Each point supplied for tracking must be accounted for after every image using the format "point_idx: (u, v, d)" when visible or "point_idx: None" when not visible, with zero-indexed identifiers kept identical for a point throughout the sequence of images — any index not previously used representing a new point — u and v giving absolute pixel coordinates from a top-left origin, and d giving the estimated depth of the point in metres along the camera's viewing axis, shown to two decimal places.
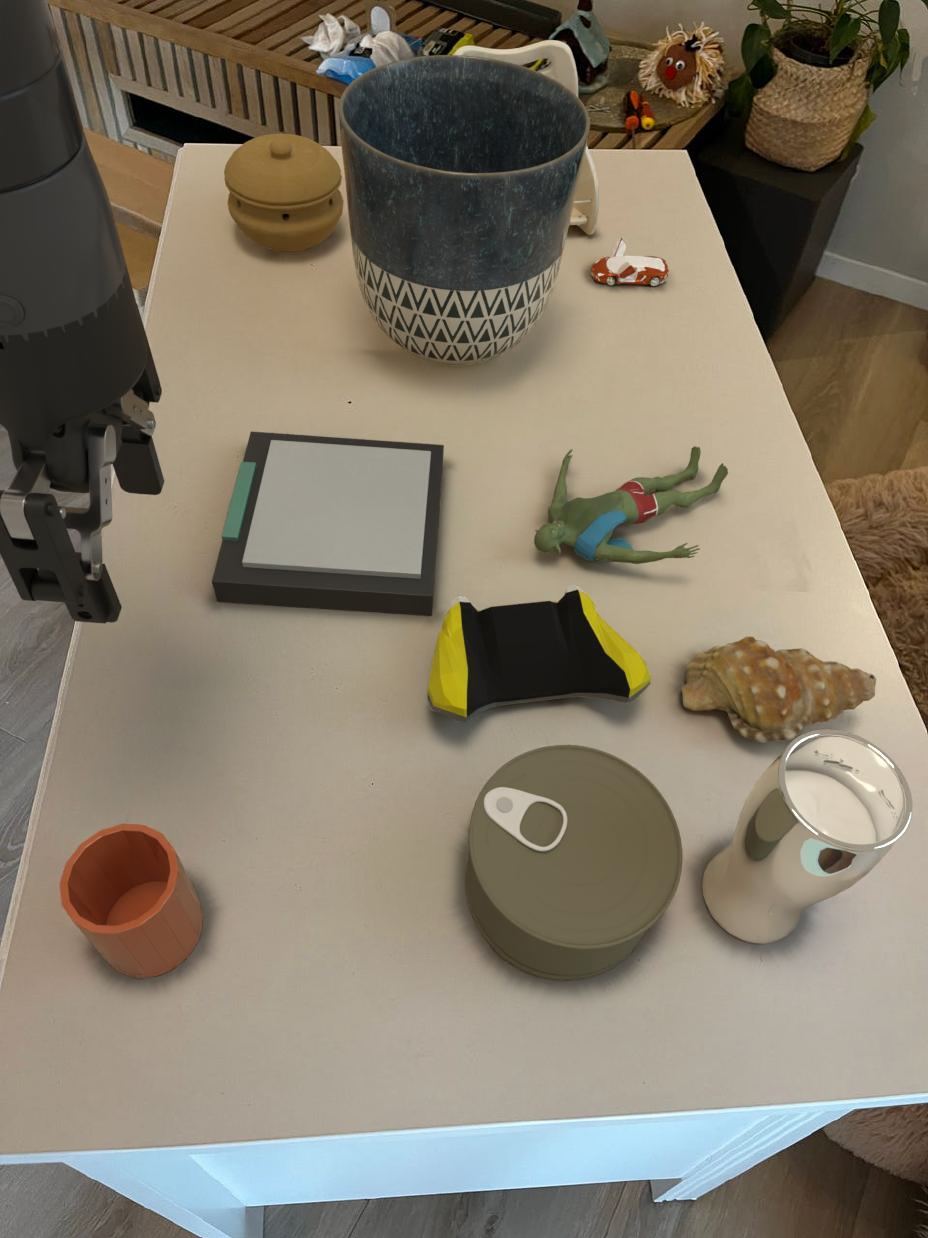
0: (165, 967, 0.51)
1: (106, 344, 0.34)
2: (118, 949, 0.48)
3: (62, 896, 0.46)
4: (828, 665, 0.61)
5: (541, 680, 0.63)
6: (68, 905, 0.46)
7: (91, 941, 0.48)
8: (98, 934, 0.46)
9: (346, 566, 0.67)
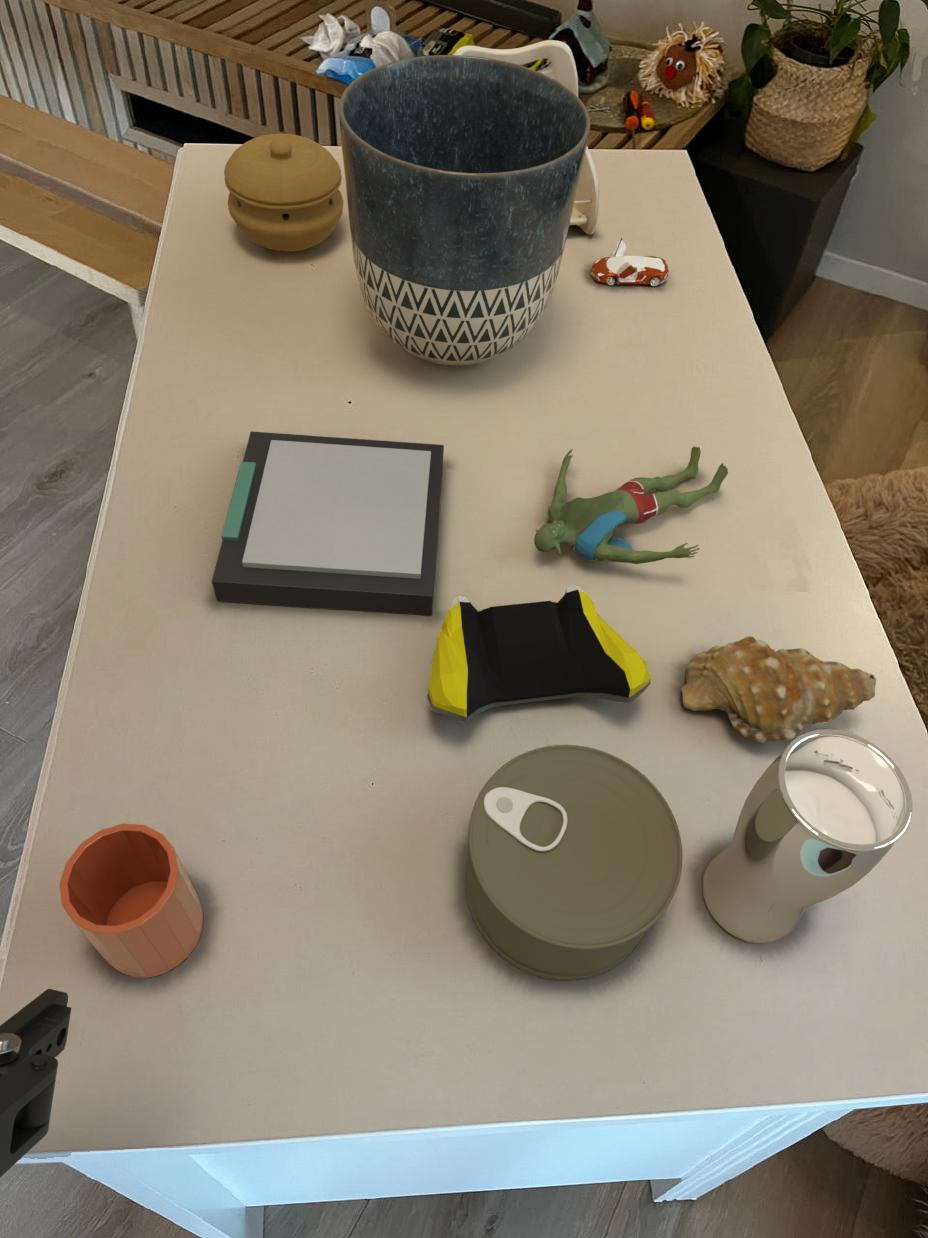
0: (165, 967, 0.51)
1: None
2: (118, 949, 0.48)
3: (62, 896, 0.46)
4: (828, 665, 0.61)
5: (541, 680, 0.63)
6: (68, 905, 0.46)
7: (91, 941, 0.48)
8: (98, 934, 0.46)
9: (346, 566, 0.67)
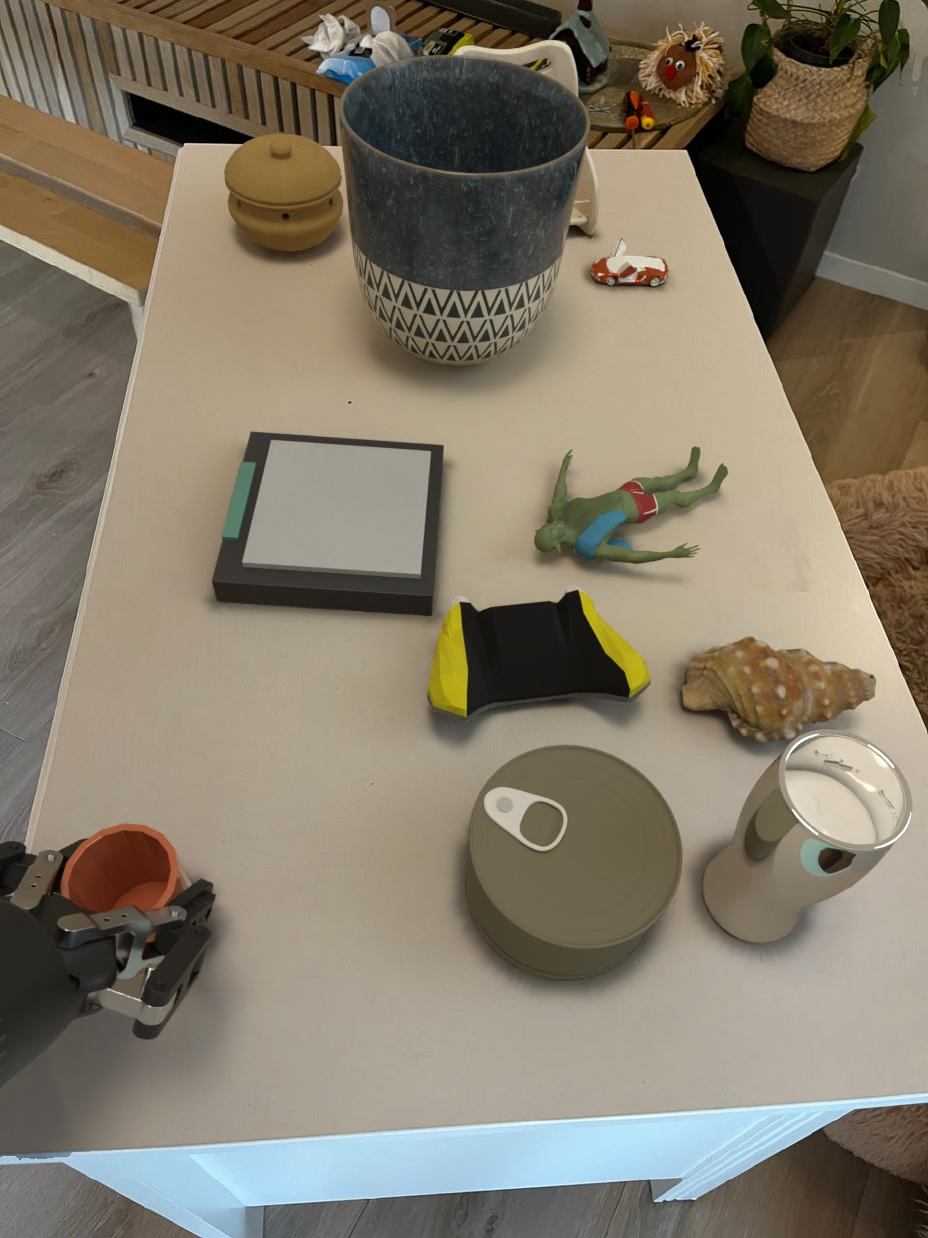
0: None
1: None
2: None
3: None
4: (828, 665, 0.61)
5: (541, 680, 0.63)
6: None
7: None
8: None
9: (346, 566, 0.67)
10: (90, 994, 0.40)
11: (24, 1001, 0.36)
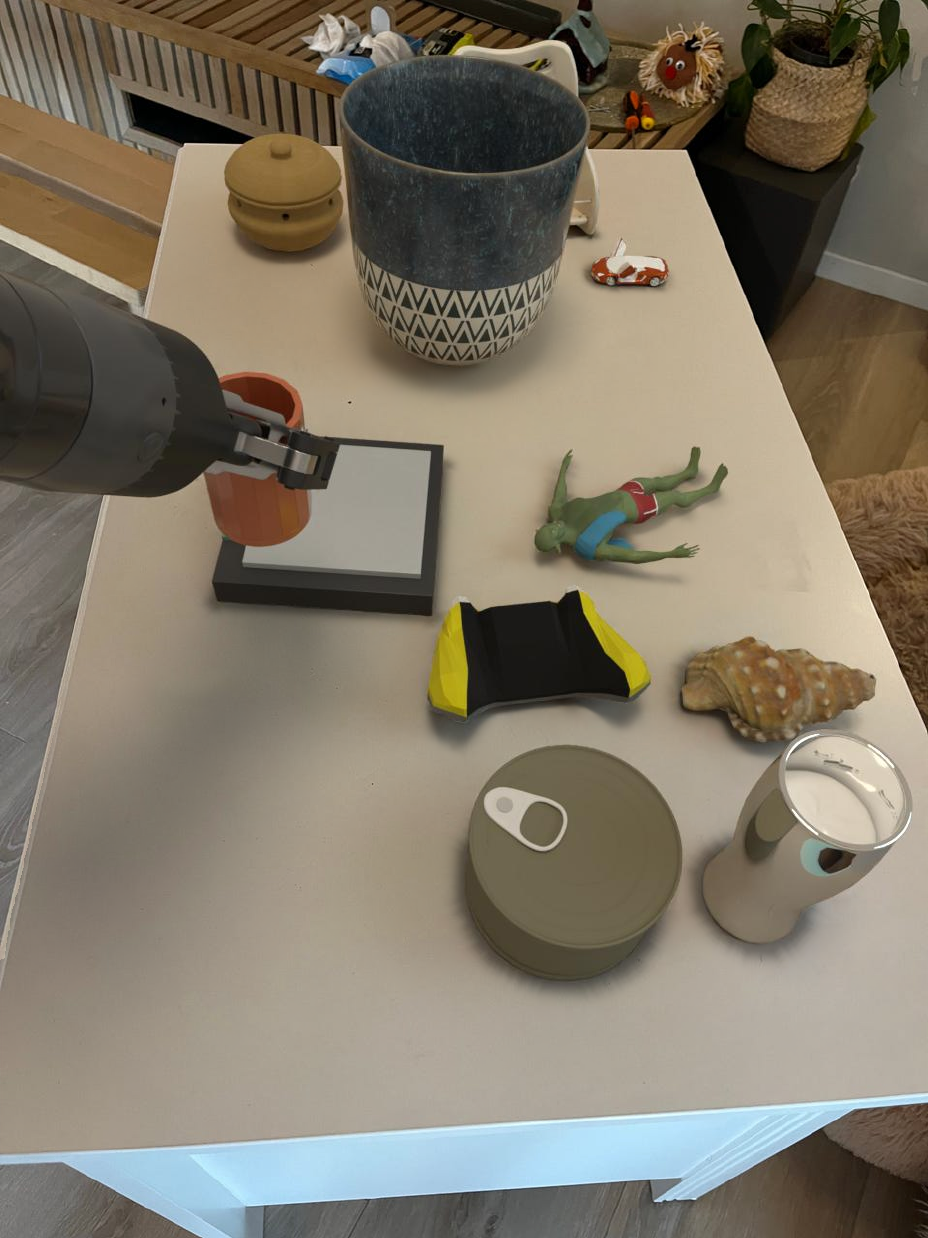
0: (280, 533, 0.53)
1: None
2: (243, 481, 0.49)
3: None
4: (828, 665, 0.61)
5: (541, 680, 0.63)
6: None
7: (217, 476, 0.49)
8: None
9: (346, 566, 0.67)
10: (238, 441, 0.41)
11: (193, 381, 0.37)
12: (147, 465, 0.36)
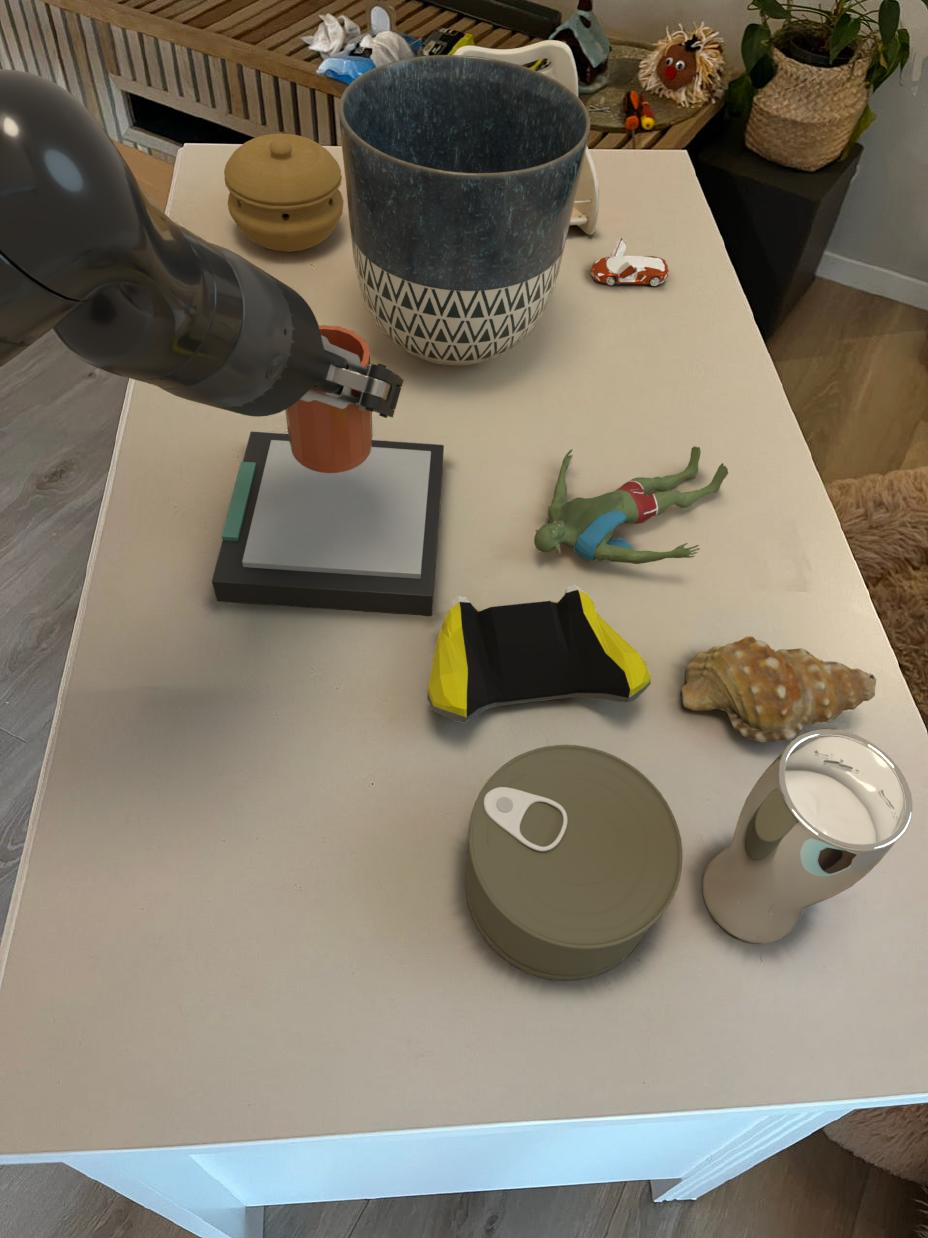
0: (348, 461, 0.63)
1: None
2: (322, 414, 0.60)
3: None
4: (828, 665, 0.61)
5: (541, 680, 0.63)
6: None
7: (300, 410, 0.60)
8: None
9: (346, 566, 0.67)
10: (329, 372, 0.52)
11: (302, 319, 0.48)
12: (270, 382, 0.46)
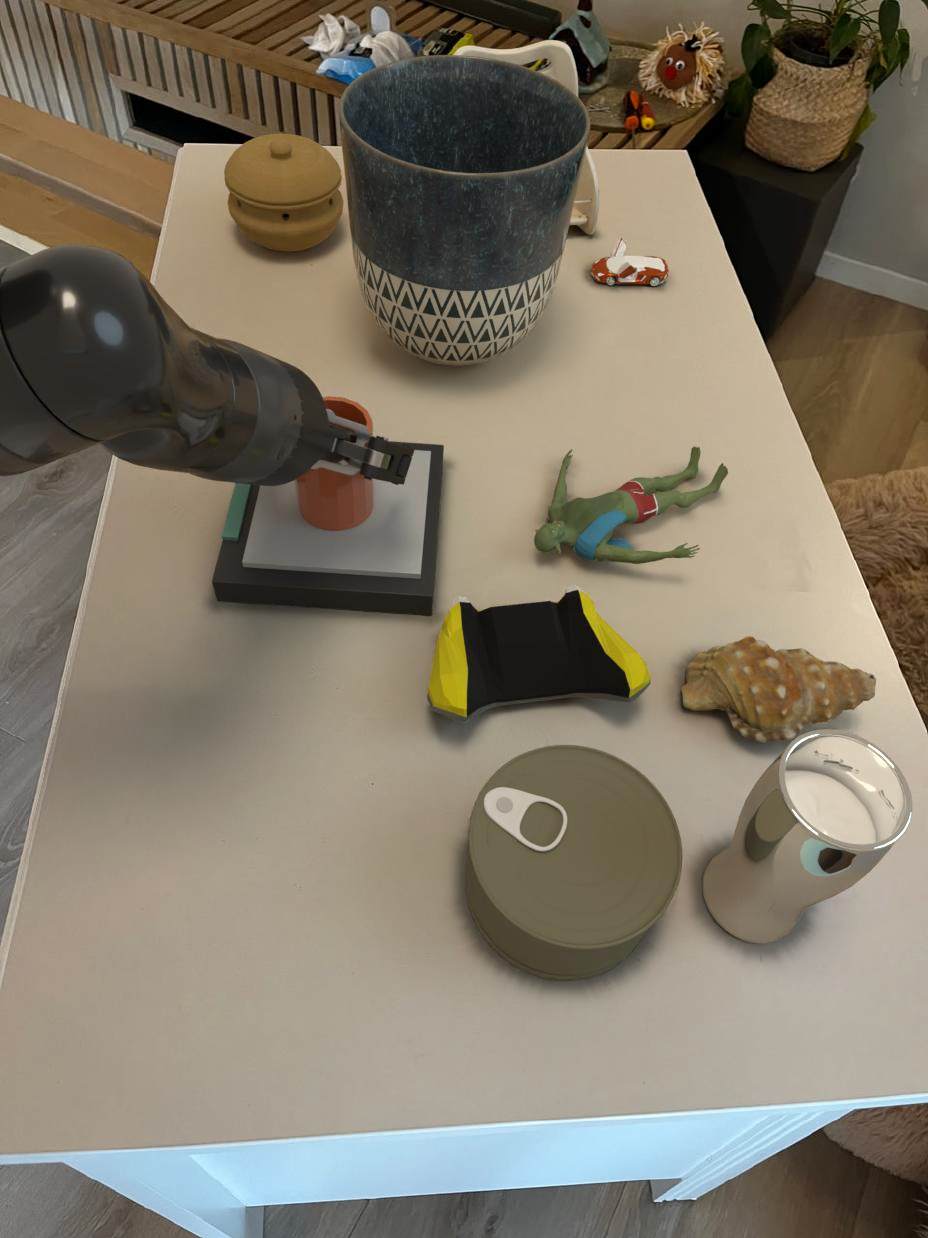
0: (352, 520, 0.68)
1: None
2: (328, 480, 0.64)
3: None
4: (828, 665, 0.61)
5: (541, 680, 0.63)
6: None
7: (307, 476, 0.65)
8: None
9: (346, 566, 0.67)
10: (334, 444, 0.57)
11: (310, 402, 0.52)
12: (281, 462, 0.51)
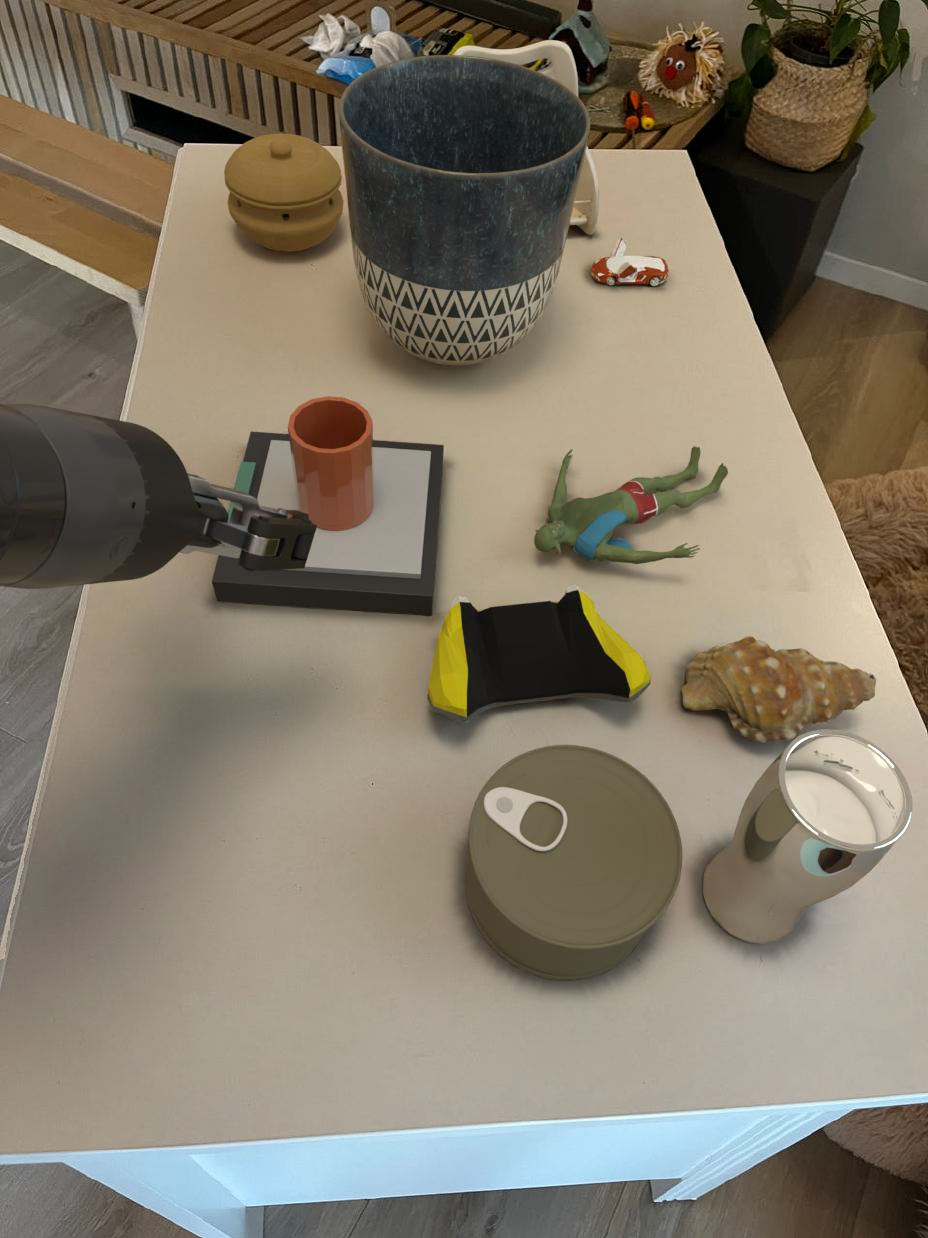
0: (352, 520, 0.68)
1: None
2: (328, 480, 0.64)
3: (291, 432, 0.63)
4: (828, 665, 0.61)
5: (541, 680, 0.63)
6: (296, 437, 0.63)
7: (307, 476, 0.65)
8: (320, 455, 0.62)
9: (346, 566, 0.67)
10: (207, 526, 0.45)
11: (162, 481, 0.40)
12: (119, 561, 0.39)
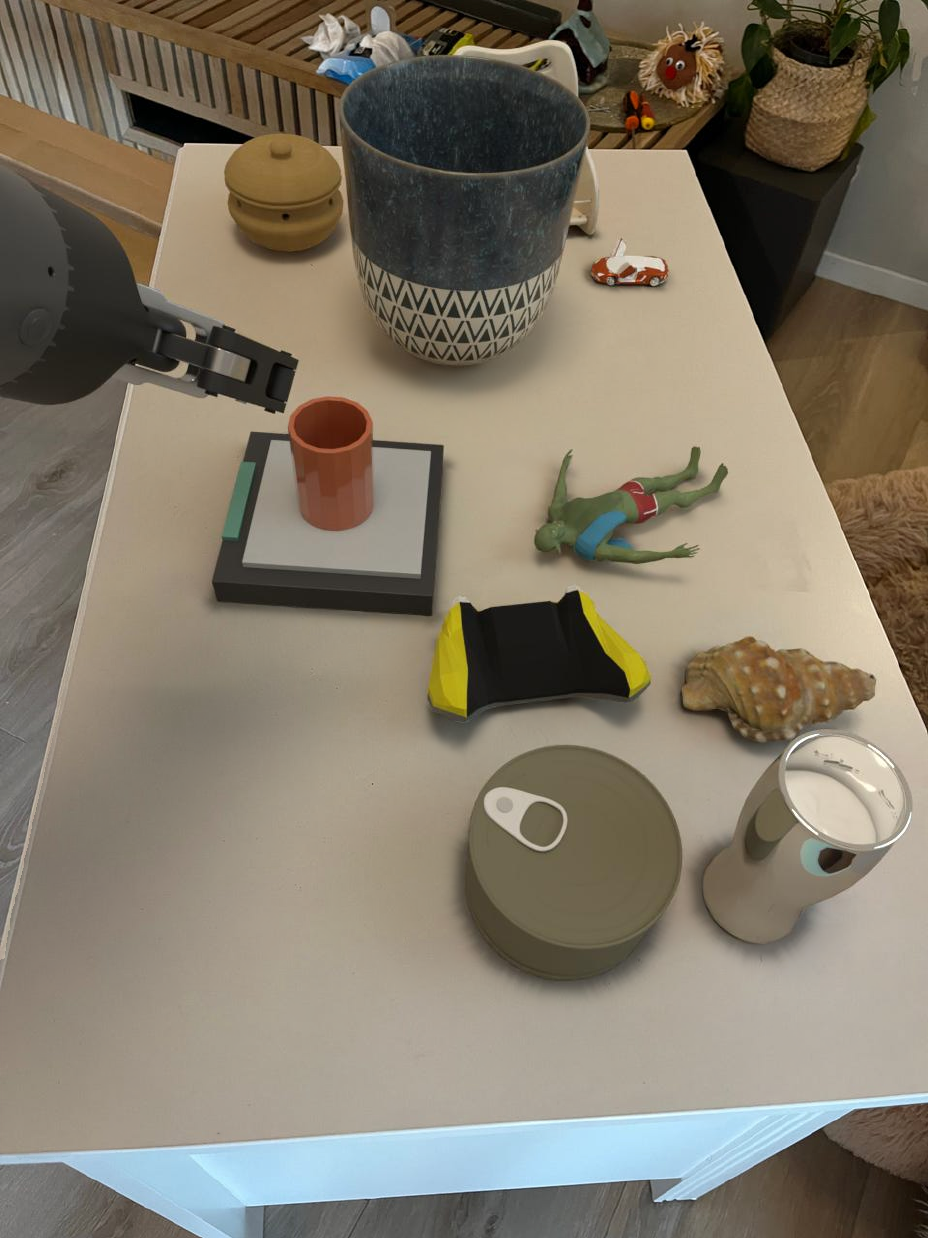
0: (352, 520, 0.68)
1: None
2: (328, 480, 0.64)
3: (291, 432, 0.63)
4: (828, 665, 0.61)
5: (541, 680, 0.63)
6: (296, 437, 0.63)
7: (307, 476, 0.65)
8: (320, 455, 0.62)
9: (346, 566, 0.67)
10: (158, 341, 0.36)
11: (93, 256, 0.31)
12: (35, 351, 0.30)
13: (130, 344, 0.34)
